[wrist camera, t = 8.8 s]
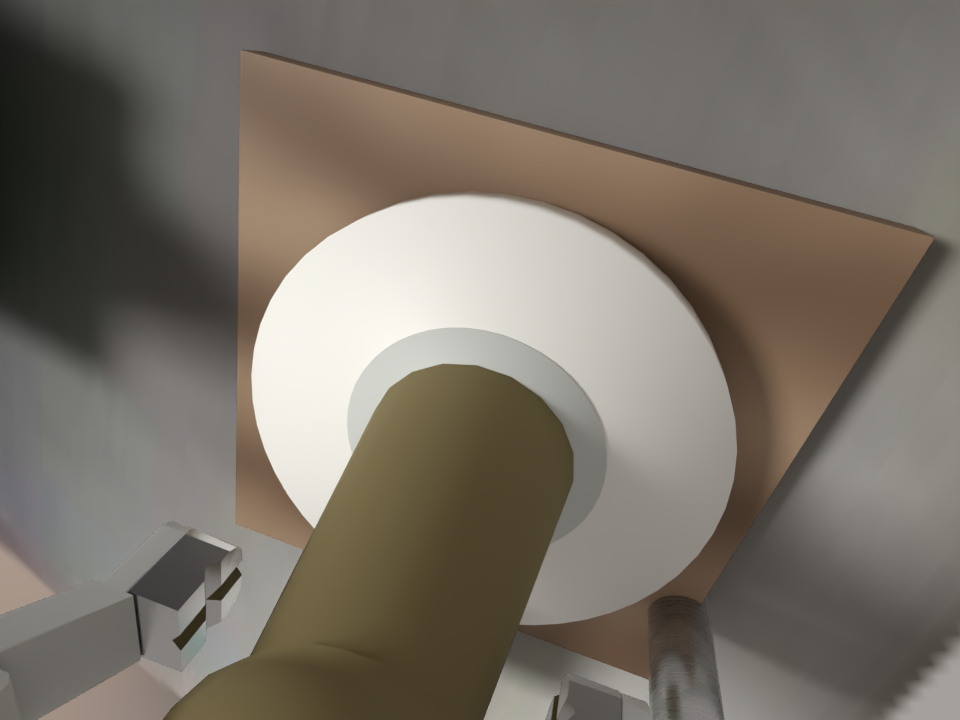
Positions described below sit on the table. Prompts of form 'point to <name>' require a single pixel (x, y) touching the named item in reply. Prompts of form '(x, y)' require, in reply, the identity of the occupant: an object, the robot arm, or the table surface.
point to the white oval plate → (512, 375)
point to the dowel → (682, 661)
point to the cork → (411, 562)
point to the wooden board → (605, 201)
